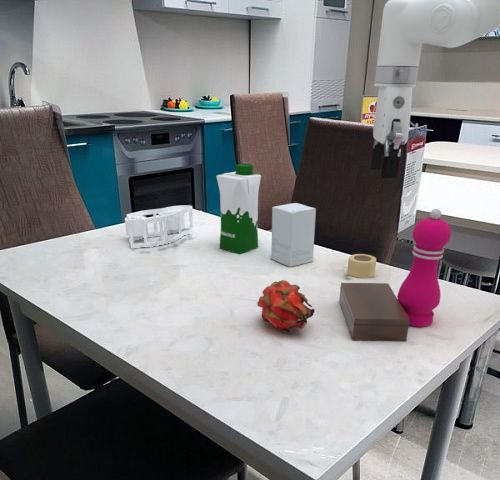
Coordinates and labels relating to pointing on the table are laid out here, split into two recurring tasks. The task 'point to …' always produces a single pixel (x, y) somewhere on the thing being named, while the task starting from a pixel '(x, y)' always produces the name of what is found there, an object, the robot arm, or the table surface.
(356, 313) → the case
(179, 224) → the clear plastic caddy
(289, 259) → the white packaging box
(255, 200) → the milk carton
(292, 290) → the dragon fruit
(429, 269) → the pepper mill
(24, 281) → the table surface
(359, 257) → the tape
